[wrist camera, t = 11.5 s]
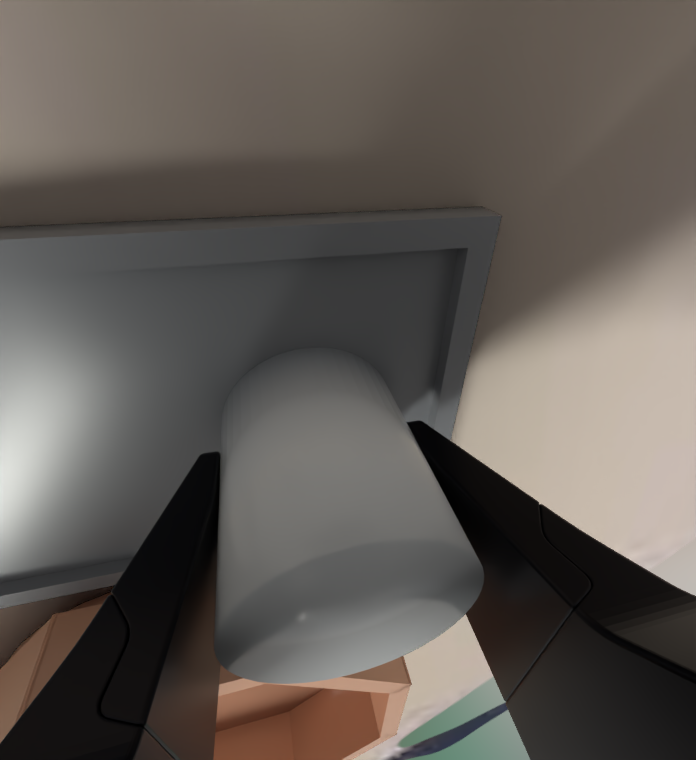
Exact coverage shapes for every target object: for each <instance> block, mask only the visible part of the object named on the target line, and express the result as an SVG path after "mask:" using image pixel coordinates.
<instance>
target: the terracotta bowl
mask: <svg viewBox="0 0 696 760" xmlns="http://www.w3.org/2000/svg"><path fill="white" fill-rule="evenodd" d="M109 595H112V594H111V592H110V593H107V594H105V595H103V596H100V597H98V598H95V599H93V600H90V601H88V602H85V603H83V604H81V605H79V606H77V607H75V608H73V609H71V610H69V611H67V612H62V613H55V614H52V617H51V618H50V619H49V620H48V622H47V623H46V624H45V625H44V626H42V627H41V628H39V629H38V630H36V631H35V632H34V633H33V634H32V635H31V636H29V637H28V638H27V639H26V640H25V641H24V642H22V643H21V644H20V646H19V647H18V648H17V649H16V651H15V652H14V653H13V654H12V656H11V657H10V659H9V661H8V662H7V663H6V664H5V665H4V666H3V667H2V668H1V669H0V743H1V741H2V740H3V739H4V738H5V736H6V735H7V734H8V732H9V731H10V730H11V728H12V727H13V726H14V725H15V723H16V722H17V721H18V719H19V718H20V717H21V716H22V714H23V713H24V712H25V710H26V709H27V708H28V706H29V705H30V704H31V703H32V701H33V700H34V699H35V697H36V696H37V695H38V694H39V692H40V691H41V690H42V688H43V687H44V686H45V685H46V683H47V682H48V681H49V679H50V678H51V677H52V675H53V674H54V673H55V671H56V670H57V669H58V667H59V666H60V665H61V663H62V662H63V661H64V659H65V658H66V656H67V655H68V654H69V652H70V651H71V650H72V648H73V647H74V646H75V644H76V643H77V641H78V640H79V638H80V637H81V636H82V634H83V633H84V631H85V630H86V628H87V627H88V625H89V624H90V622H91V621H92V619H93V618H94V617H95V615H96V614H97V612H98V610H99V609H100V607H101V606H102V604H103V603H104V601H105V600H106V598H107V596H109ZM410 685H412V683H411V680H410V677H409V673H408V670H407V667H406V663H405V660H404V657H403V656H401V657H399V658H397V659H395V660H392V661H390V662H387V663H385V664H382V665H379V666H376V667H374V668H371V669H368V670H364V671H361V672H358V673H354V674H350V675H346V676H342V677H338V678H333V679H328V680H322V681H315V682H307V683H294V684H276V683H264V682H257V681H252V680H248V679H245V678H242V677H239V676H237V675H235V674H233V673H231V672H229V671H228V670H226V669H225V668H224V667H223V666H222V665H221V667H220V680H219V692H218V705H217V718H216V731H215V744H214V757H213V760H352V759H354V758H356V757H357V756H359V755H361V754H363V753H365V752H366V751H368V750H370V749H372V748H373V747H375V746H377V745H379V744H380V743H382V742H384V741H386V740H387V739H389V738H391V737H393V736H395V735H396V734H397V730H398V726H399V723H400V720H401V716H402V713H403V709H404V706H405V703H406V699H407V696H408V692H409V689H410Z"/></svg>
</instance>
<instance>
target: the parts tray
mask: <svg viewBox="0 0 696 760" xmlns="http://www.w3.org/2000/svg"><path fill="white" fill-rule="evenodd" d="M500 221H501V215H499V214H497V213H495V212H493V211H490V210H488V209H486V208H484V207H459V208H436V209H413V210H389V211H366V212H343V213H319V214H296V215H272V216H249V217H226V218H202V219H179V220H155V221H132V222H109V223H85V224H62V225H39V226H15V227H0V609H2V608H7V607H12V606H17V605H21V604H26V603H31V602H36V601H41V600H46V599H51V598H55V597H60V596H65V595H70V594H75V593H80V592H84V591H89V590H94V589H99V588H104V587H109V586H114V585H116V583H117V581H118V580H119V578H120V577H121V575H122V574H123V572H124V571H125V569H126V568H127V566H128V565H129V563H130V561H131V560H132V558H133V557H134V555H135V554H136V552H137V551H138V549H139V548H140V546H141V545H142V543H143V541H144V540H145V538H146V537H147V535H148V534H149V532H150V531H151V529H152V528H153V526H154V525H155V523H156V521H157V520H158V518H159V517H160V515H161V514H162V512H163V511H164V509H165V508H166V506H167V504H168V503H169V501H170V500H171V498H172V497H173V495H174V494H175V492H176V491H177V489H178V488H179V486H180V484H181V483H182V481H183V480H184V478H185V477H186V475H187V474H188V472H189V471H190V469H191V468H192V466H193V464H194V463H195V461H196V460H197V458H198V457H199V455H201V454H203V453H209V452H215V451H217V452H219V453H220V455H221V427H222V413H223V408H224V405H225V402H226V400H227V397H228V396H229V394H230V392H231V391H232V389H233V387H234V386H235V385H236V384H237V383H238V381H239V380H240V379H241V378H242V377H243V376H244V375H245V374H246V373H247V372H249V371H250V370H251V369H253V368H254V367H255V366H257V365H258V364H260V363H262V362H264V361H265V360H267V359H269V358H271V357H274V356H276V355H279V354H281V353H285V352H288V351H292V350H297V349H303V348H316V347H320V348H332V349H338V350H342V351H346V352H349V353H352V354H354V355H356V356H358V357H360V358H362V359H364V360H365V361H367V362H368V363H370V364H371V365H372V366H373V367H374V368H375V369H376V370H377V371H378V372H379V373H380V375H381V376H382V377H383V379H384V381H385V383H386V385H387V387H388V388H389V390H390V392H391V394H392V396H393V398H394V400H395V402H396V404H397V405H398V407H399V409H400V411H401V413H402V415H403V417H404V419H405V421H406V422H411V421H417V420H420V421H423V422H424V423H426V424H427V425H429V426H430V427H431V428H433V429H434V430H436V431H437V432H439V433H440V434H442V435H443V436H444V437H446V438H447V439H449V440H451V436H452V431H453V427H454V423H455V418H456V414H457V410H458V405H459V401H460V396H461V392H462V388H463V383H464V379H465V374H466V370H467V366H468V361H469V357H470V352H471V348H472V344H473V339H474V335H475V331H476V326H477V322H478V317H479V313H480V309H481V304H482V300H483V295H484V291H485V287H486V282H487V278H488V273H489V269H490V265H491V260H492V256H493V252H494V247H495V243H496V238H497V234H498V230H499V225H500Z"/></svg>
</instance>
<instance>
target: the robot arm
mask: <svg viewBox="0 0 696 760" xmlns="http://www.w3.org/2000/svg"><path fill="white" fill-rule="evenodd" d="M406 423H407V424H408V426H409V428H410V430H411V432H412V434H413V436H414V438H415V440H416V441H417V443H418V445H419V447H420V449H421V451H422V453H423V455H424V457H425V459H426V460H427V462H428V464H429V466H430V468H431V470H432V472H433V474H434V476H435V477H436V479H437V481H438V483H439V485H440V487H441V489H442V491H443V493H444V495H445V496H446V498H447V500H448V502H449V504H450V506H451V508H452V510H453V512H454V513H455V515H456V517H457V519H458V521H459V523H460V525H461V527H462V529H463V531H464V532H465V534H466V536H467V538H468V540H469V542H470V544H471V546H472V548H473V549H474V551H475V553H476V555H477V557H478V559H479V561H480V563H481V565H482V567H483V571H484V584H483V587H482V590H481V592H480V594H479V596H478V598H477V600H476V601H475V603H474V604H473V605H472V607H471V608H470V609H469V610H468V611H467V613H466V615H467V618H468V620H469V622H470V624H471V627H472V629H473V631H474V633H475V635H476V638H477V640H478V642H479V644H480V647H481V649H482V651H483V653H484V656H485V658H486V660H487V662H488V665H489V667H490V669H491V671H492V674H493V676H494V678H495V680H496V683H497V685H498V687H499V689H500V692H501V694H502V696H503V698H504V700H505V701H506V706H507V708H508V710H509V712H510V715H511V717H512V719H513V721H514V723H515V726H516V728H517V730H518V733H519V735H520V737H521V739H522V742H523V744H524V746H525V748H526V751H527V753H528V755H529V757H530V760H696V596H695V595H692V594H690V593H688V592H686V591H683V590H681V589H679V588H677V587H675V586H674V585H672V584H670V583H668V582H666V581H665V580H663V579H661V578H660V577H658V576H656V575H655V574H653V573H651V572H650V571H648V570H646V569H644V568H643V567H641V566H639V565H638V564H636V563H634V562H633V561H631V560H629V559H628V558H626V557H624V556H622V555H621V554H619V553H617V552H616V551H614V550H612V549H611V548H609V547H607V546H606V545H604V544H602V543H601V542H599V541H597V540H596V539H594V538H592V537H591V536H589V535H588V534H586V533H584V532H583V531H581V530H579V529H578V528H576V527H575V526H573V525H572V524H570V523H569V522H567V521H566V520H564V519H563V518H561V517H560V516H558V515H557V514H555V513H554V512H553V511H551V510H550V509H548V508H547V507H545V506H544V505H542V504H540V505H539V502H538V501H537V500H535V499H534V498H532V497H531V496H529V495H528V494H526V493H525V492H524V491H522V490H521V489H519V488H518V487H516V486H515V485H514V484H512V483H511V482H509V481H508V480H506V479H505V478H503V477H502V476H501V475H499V474H498V473H496V472H495V471H493V470H492V469H490V468H489V467H488V466H486V465H485V464H483V463H482V462H480V461H479V460H478V459H476V458H475V457H473V456H472V455H470V454H469V453H467V452H466V451H465V450H463V449H462V448H460V447H459V446H457V445H456V444H454V443H453V442H452V441H450V440H449V439H447V438H446V437H444V436H443V435H442V434H440V433H439V432H437V431H436V430H434V429H433V428H431V427H430V426H429V425H427V424H426V423H424V422H423V421H420V420H417V421H411V422H406ZM220 457H221V455H220V453H219V452H217V451H215V452H209V453H203V454H201V455H199V457H198V458H197V460H196V461H195V463H194V464H193V466H192V468H191V469H190V471H189V472H188V474H187V475H186V477H185V478H184V480H183V481H182V483H181V484H180V486H179V488H178V489H177V491H176V492H175V494H174V495H173V497H172V498H171V500H170V501H169V503H168V504H167V506H166V508H165V509H164V511H163V512H162V514H161V515H160V517H159V518H158V520H157V521H156V523H155V525H154V526H153V528H152V529H151V531H150V532H149V534H148V535H147V537H146V538H145V540H144V541H143V543H142V545H141V546H140V548H139V549H138V551H137V552H136V554H135V555H134V557H133V558H132V560H131V561H130V563H129V565H128V566H127V568H126V569H125V571H124V572H123V574H122V575H121V577H120V578H119V580H118V581H117V583H116V585H115V586H114V588H113V589H112V591H111V594H112V595H109V596H107V598H106V600H105V601H104V603H103V604H102V606H101V607H100V609H99V610H98V612H97V614H96V615H95V617H94V618H93V619H92V621H91V622H90V624H89V625H88V627H87V628H86V630H85V631H84V633H83V634H82V636H81V637H80V638H79V640H78V641H77V643H76V644H75V646H74V647H73V648H72V650H71V651H70V652H69V654H68V655H67V656H66V658H65V659H64V661H63V662H62V663H61V665H60V666H59V667H58V669H57V670H56V671H55V673H54V674H53V675H52V677H51V678H50V679H49V681H48V682H47V683H46V685H45V686H44V687H43V688H42V690H41V691H40V692H39V694H38V695H37V696H36V697H35V699H34V700H33V701H32V703H31V704H30V705H29V706H28V708H27V709H26V710H25V712H24V713H23V714H22V716H21V717H20V718H19V719H18V721H17V722H16V723H15V725H14V726H13V727H12V728H11V730H10V731H9V732H8V734H7V735H6V736H5V738H4V739H3V740H2V741H1V743H0V760H213V757H214V744H215V731H216V718H217V705H218V692H219V680H220V667H221V664H220V663H219V661H218V659H217V658H216V655H215V651H214V631H215V602H216V573H217V544H218V515H219V486H220Z"/></svg>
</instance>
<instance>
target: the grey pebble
mask: <svg viewBox="0 0 696 760" xmlns="http://www.w3.org/2000/svg"><path fill="white" fill-rule="evenodd" d="M483 584H484V571H483V567H482V565H481V563H480V561H479V559H478V557H477V555H476V553H475V551H474V549H473V548H472V546H471V544H470V542H469V540H468V538H467V536H466V534H465V532H464V531H463V529H462V527H461V525H460V523H459V521H458V519H457V517H456V515H455V513H454V512H453V510H452V508H451V506H450V504H449V502H448V500H447V498H446V496H445V495H444V493H443V491H442V489H441V487H440V485H439V483H438V481H437V479H436V477H435V476H434V474H433V472H432V470H431V468H430V466H429V464H428V462H427V460H426V459H425V457H424V455H423V453H422V451H421V449H420V447H419V445H418V443H417V441H416V440H415V438H414V436H413V434H412V432H411V430H410V428H409V426H408V424H407V423H406V421H405V419H404V417H403V415H402V413H401V411H400V409H399V407H398V405H397V404H396V402H395V400H394V398H393V396H392V394H391V392H390V390H389V388H388V387H387V385H386V383H385V381H384V379H383V377H382V376H381V375H380V373H379V372H378V371H377V370H376V369H375V368H374V367H373V366H372V365H371V364H370V363H368V362H367V361H365V360H364V359H362V358H360V357H358V356H356V355H354V354H352V353H349V352H346V351H342V350H338V349H332V348H320V347H316V348H303V349H297V350H292V351H288V352H285V353H281V354H279V355H276V356H274V357H271V358H269V359H267V360H265V361H264V362H262V363H260V364H258V365H257V366H255V367H254V368H253V369H251V370H250V371H249V372H247V373H246V374H245V375H244V376H243V377H242V378H241V379H240V380H239V381H238V383H237V384H236V385H235V386H234V387H233V389H232V391H231V392H230V394H229V396H228V397H227V400H226V402H225V405H224V408H223V413H222V427H221V457H220V486H219V515H218V544H217V573H216V602H215V631H214V651H215V655H216V658H217V659H218V661H219V663H220V664H221V665H222V666H223V667H224V668H225V669H226V670H228V671H229V672H231V673H233V674H235V675H237V676H239V677H242V678H245V679H248V680H252V681H257V682H264V683H276V684H294V683H307V682H315V681H322V680H328V679H333V678H338V677H342V676H346V675H350V674H354V673H358V672H361V671H364V670H368V669H371V668H374V667H376V666H379V665H382V664H385V663H387V662H390V661H392V660H395V659H397V658H399V657H401V656H403V655H406V654H408V653H410V652H412V651H414V650H416V649H418V648H419V647H421V646H423V645H425V644H426V643H428V642H430V641H431V640H433V639H435V638H436V637H438V636H439V635H441V634H442V633H444V632H445V631H446V630H448V629H449V628H450V627H451V626H453V625H454V624H455V623H456V622H457V621H458V620H460V619H461V618H462V617H463V616H464V615H465V614H466V613H467V611H468V610H469V609H470V608H471V607H472V605H473V604H474V603H475V601H476V600H477V598H478V596H479V594H480V592H481V590H482V587H483Z"/></svg>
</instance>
